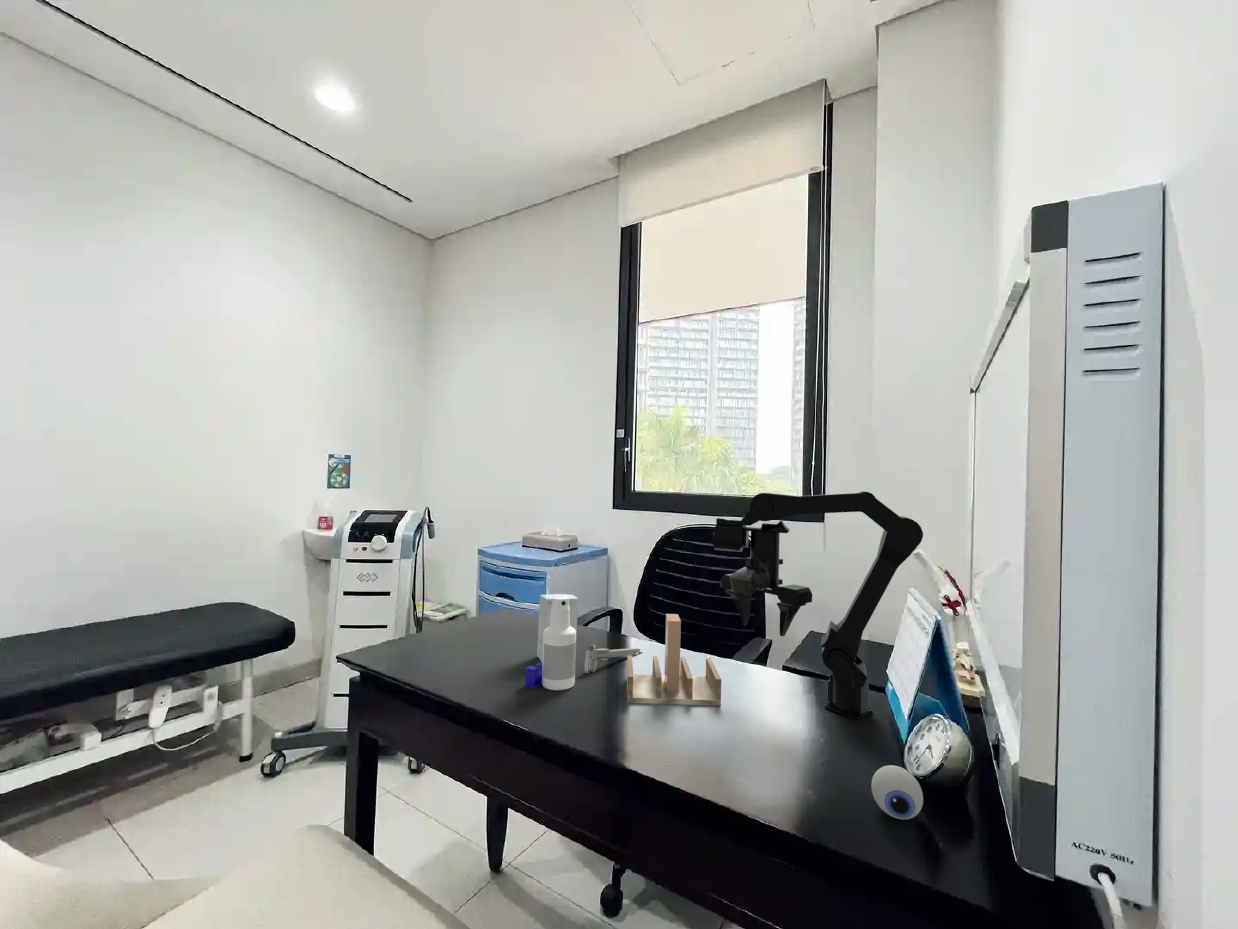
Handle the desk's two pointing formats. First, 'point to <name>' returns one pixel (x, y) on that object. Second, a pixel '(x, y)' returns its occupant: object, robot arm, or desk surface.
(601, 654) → the caliper
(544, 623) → the skincare box
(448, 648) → the desk surface
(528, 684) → the cable holder
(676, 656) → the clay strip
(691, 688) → the rack
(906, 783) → the eyeball
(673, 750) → the desk surface
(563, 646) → the spray bottle
